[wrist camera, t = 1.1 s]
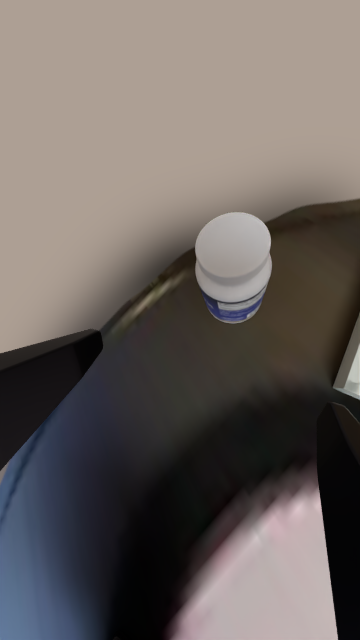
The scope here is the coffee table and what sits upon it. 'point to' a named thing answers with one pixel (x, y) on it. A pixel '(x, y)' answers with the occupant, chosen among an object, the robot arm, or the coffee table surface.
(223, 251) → the pill bottle
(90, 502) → the coffee table surface
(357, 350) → the tray
